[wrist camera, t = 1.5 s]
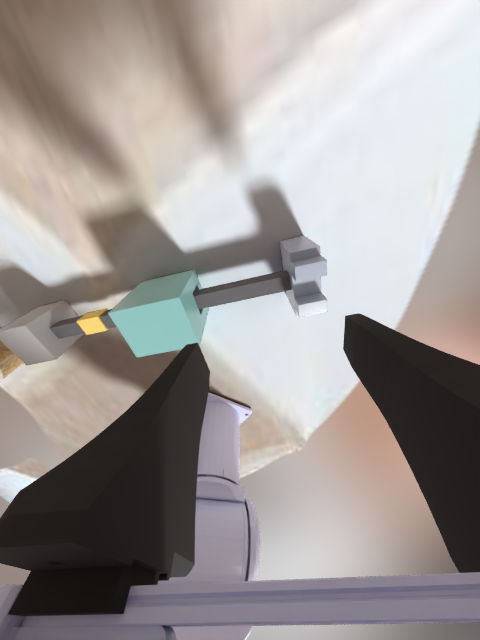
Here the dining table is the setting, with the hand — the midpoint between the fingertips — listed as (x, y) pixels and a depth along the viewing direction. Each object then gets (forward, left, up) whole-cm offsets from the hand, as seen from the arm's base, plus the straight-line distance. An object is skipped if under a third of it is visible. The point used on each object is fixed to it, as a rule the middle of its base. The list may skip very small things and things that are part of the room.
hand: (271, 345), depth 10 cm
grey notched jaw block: (+2, -2, -10) cm, 11 cm away
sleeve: (-5, +5, -10) cm, 13 cm away
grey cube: (-14, +14, -10) cm, 22 cm away
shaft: (-6, +6, -8) cm, 12 cm away
